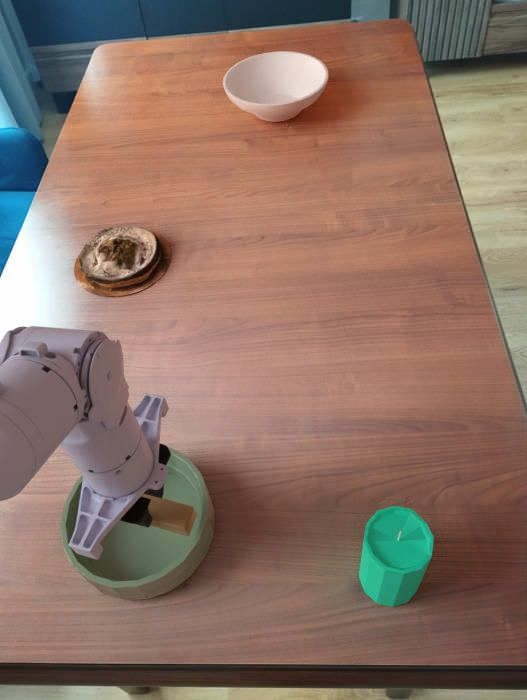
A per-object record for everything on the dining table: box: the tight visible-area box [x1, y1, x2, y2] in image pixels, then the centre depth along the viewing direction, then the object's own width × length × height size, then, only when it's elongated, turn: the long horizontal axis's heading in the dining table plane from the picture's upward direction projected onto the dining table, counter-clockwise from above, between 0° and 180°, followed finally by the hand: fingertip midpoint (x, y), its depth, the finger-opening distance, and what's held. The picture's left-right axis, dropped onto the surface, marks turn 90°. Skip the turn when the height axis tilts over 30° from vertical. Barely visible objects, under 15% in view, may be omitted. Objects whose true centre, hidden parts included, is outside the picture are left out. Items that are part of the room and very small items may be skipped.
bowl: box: [222, 50, 330, 123], centre depth 110 cm, size 20×20×7 cm
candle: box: [358, 505, 435, 608], centre depth 54 cm, size 6×6×12 cm
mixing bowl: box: [59, 446, 216, 601], centre depth 62 cm, size 15×15×5 cm
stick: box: [141, 494, 197, 536], centre depth 56 cm, size 2×9×2 cm, turn 72°
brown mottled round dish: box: [73, 226, 172, 298], centre depth 89 cm, size 15×15×4 cm
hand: (146, 508), depth 56 cm, fingers closed on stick, 2 cm apart
